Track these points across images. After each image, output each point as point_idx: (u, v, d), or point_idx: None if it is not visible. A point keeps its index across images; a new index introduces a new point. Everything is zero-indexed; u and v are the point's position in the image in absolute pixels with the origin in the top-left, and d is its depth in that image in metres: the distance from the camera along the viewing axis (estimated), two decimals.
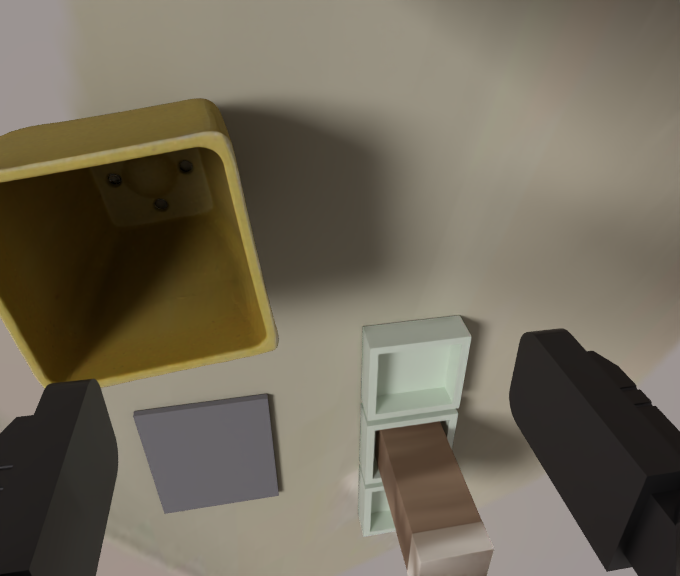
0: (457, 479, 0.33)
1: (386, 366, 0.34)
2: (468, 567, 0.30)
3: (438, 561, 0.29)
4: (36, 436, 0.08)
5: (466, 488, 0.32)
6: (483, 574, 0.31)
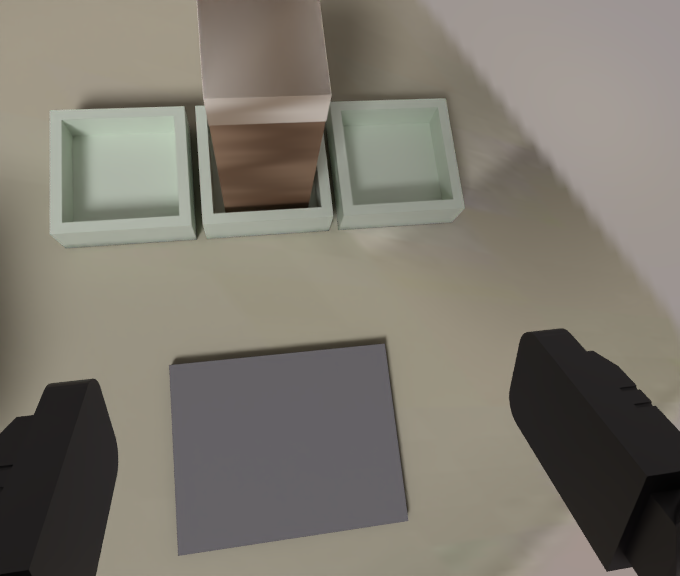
0: None
1: (128, 211, 0.26)
2: (244, 20, 0.18)
3: (208, 70, 0.17)
4: (36, 436, 0.08)
5: None
6: None
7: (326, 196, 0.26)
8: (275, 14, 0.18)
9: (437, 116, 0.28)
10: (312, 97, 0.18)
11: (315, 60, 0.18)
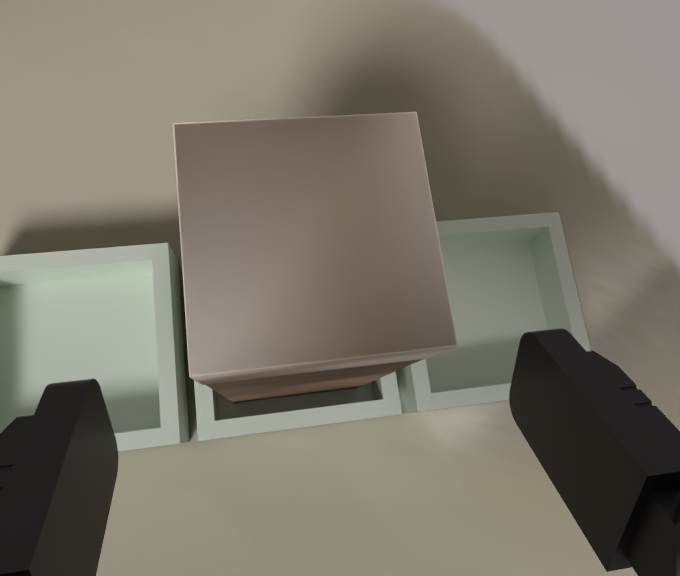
0: None
1: None
2: (273, 187, 0.09)
3: (200, 306, 0.08)
4: (36, 436, 0.08)
5: None
6: (332, 127, 0.09)
7: (389, 380, 0.17)
8: (335, 171, 0.09)
9: (548, 239, 0.19)
10: (417, 350, 0.09)
11: (419, 269, 0.09)
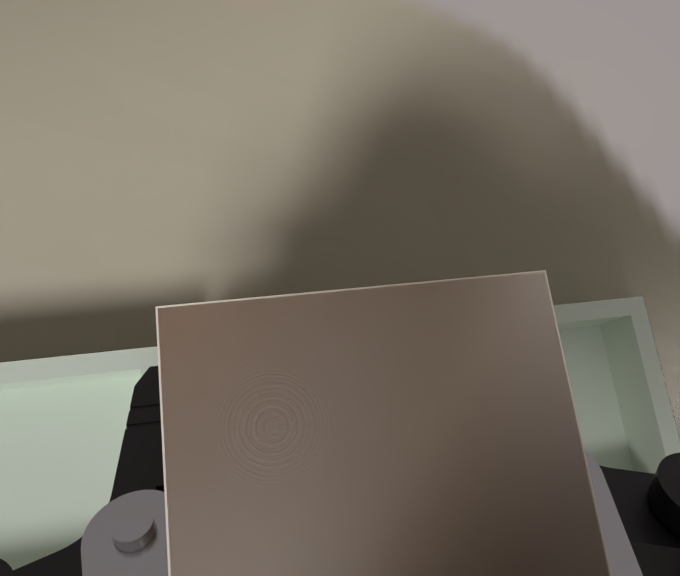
0: None
1: (55, 551, 0.14)
2: (323, 415, 0.05)
3: None
4: None
5: None
6: (415, 302, 0.06)
7: None
8: (422, 380, 0.05)
9: (630, 330, 0.15)
10: None
11: (566, 555, 0.05)
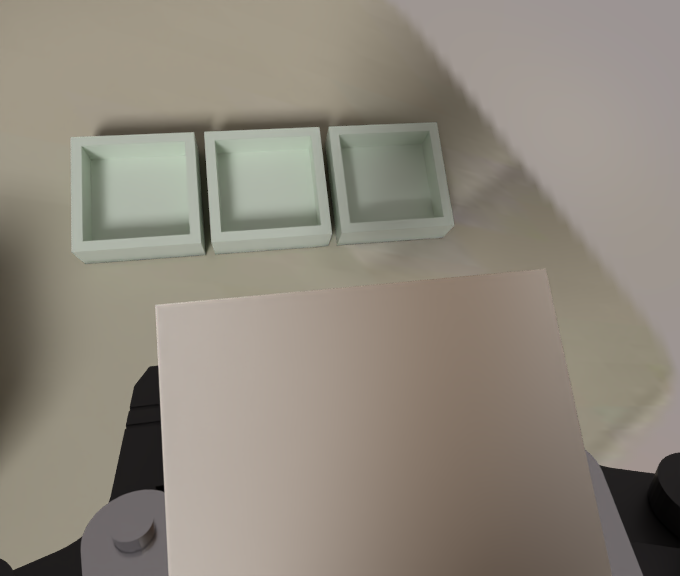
0: None
1: (142, 229, 0.28)
2: (322, 414, 0.05)
3: None
4: None
5: None
6: (414, 300, 0.06)
7: (325, 215, 0.28)
8: (422, 378, 0.05)
9: (429, 139, 0.30)
10: None
11: (566, 554, 0.05)
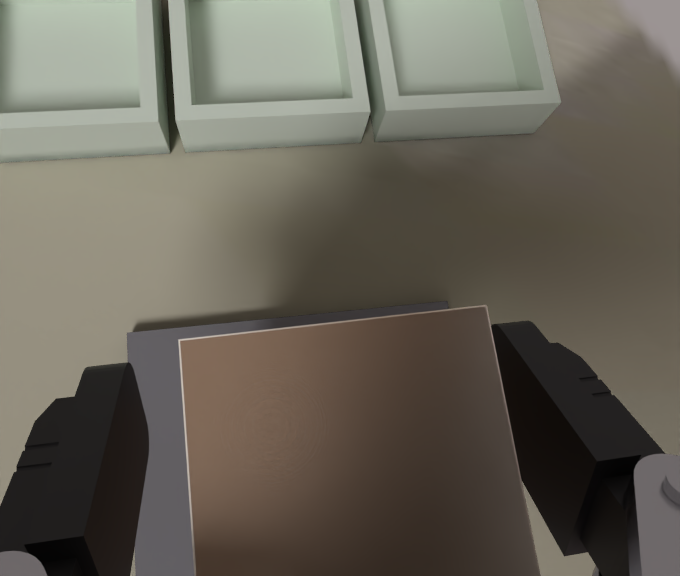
0: None
1: (69, 110, 0.18)
2: (309, 423, 0.07)
3: None
4: (79, 415, 0.09)
5: None
6: (381, 332, 0.07)
7: (359, 83, 0.18)
8: (387, 394, 0.07)
9: None
10: None
11: (499, 529, 0.07)
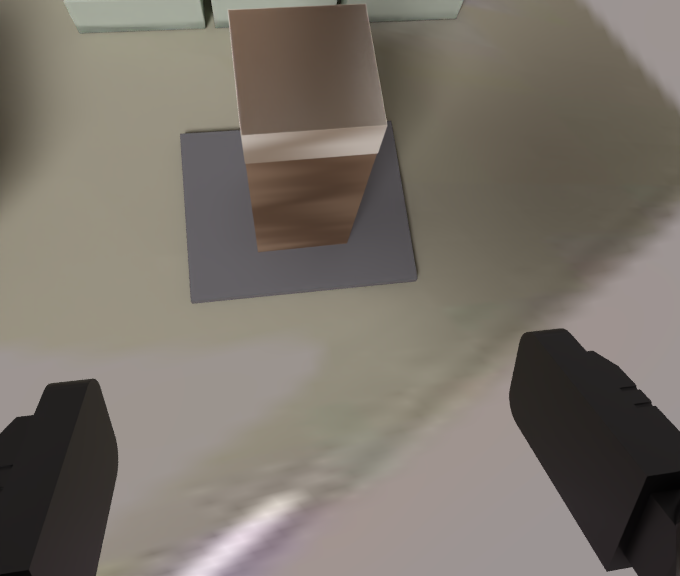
0: None
1: None
2: (284, 43, 0.16)
3: (245, 102, 0.15)
4: (36, 436, 0.08)
5: None
6: (317, 11, 0.16)
7: None
8: (318, 34, 0.16)
9: None
10: (365, 129, 0.15)
11: (366, 86, 0.16)
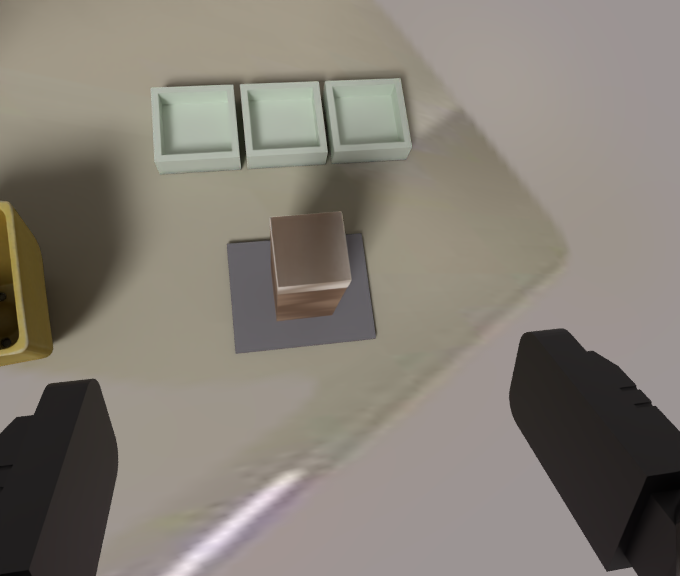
0: (271, 249, 0.35)
1: (198, 151, 0.42)
2: (299, 235, 0.31)
3: (279, 269, 0.30)
4: (36, 436, 0.08)
5: None
6: (316, 216, 0.31)
7: (323, 139, 0.41)
8: (317, 230, 0.31)
9: (395, 89, 0.43)
10: (340, 281, 0.30)
11: (341, 258, 0.30)
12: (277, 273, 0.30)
